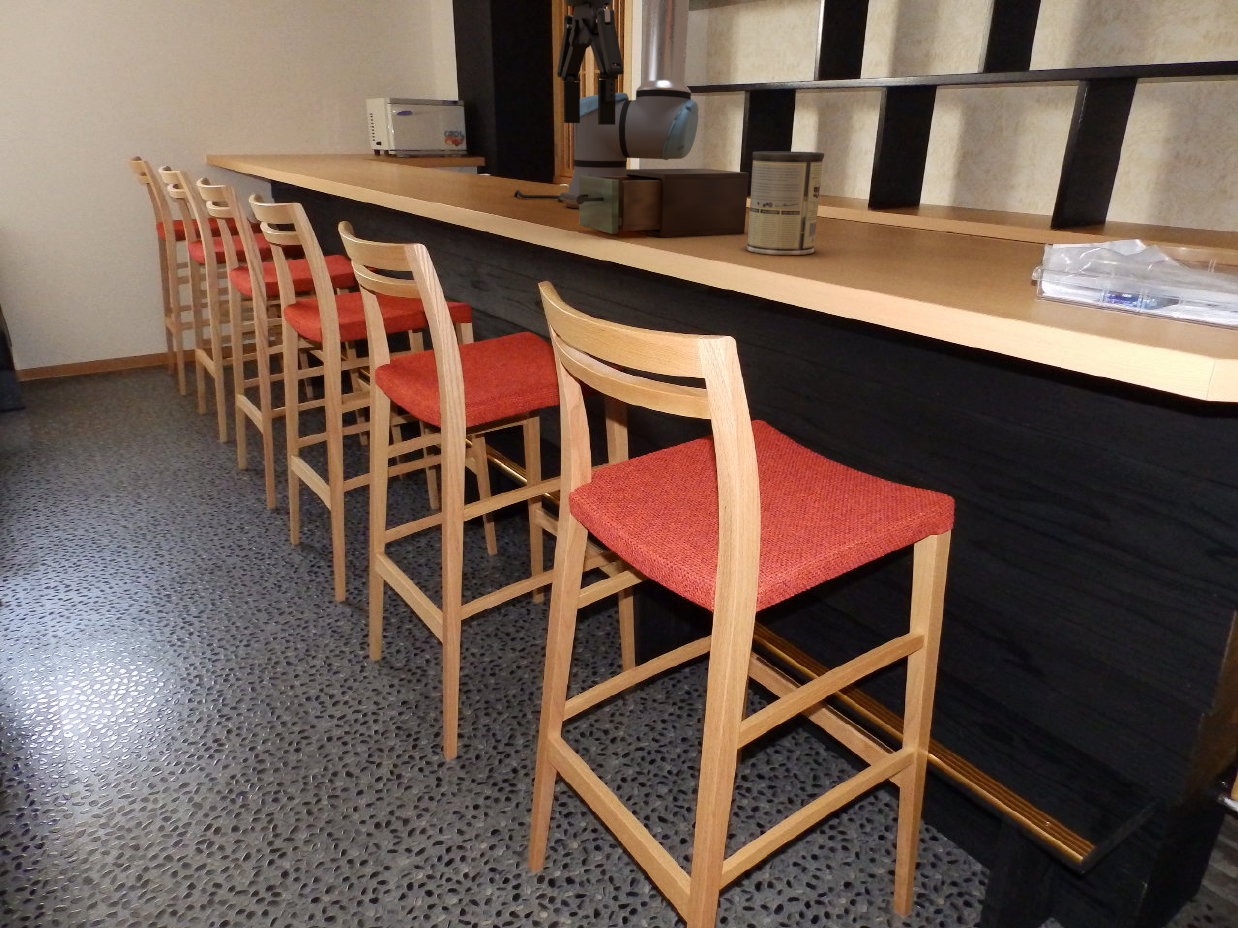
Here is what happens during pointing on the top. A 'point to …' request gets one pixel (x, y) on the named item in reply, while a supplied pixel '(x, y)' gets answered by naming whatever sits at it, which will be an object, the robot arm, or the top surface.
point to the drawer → (618, 203)
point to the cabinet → (699, 201)
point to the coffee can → (784, 202)
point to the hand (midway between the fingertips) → (588, 124)
